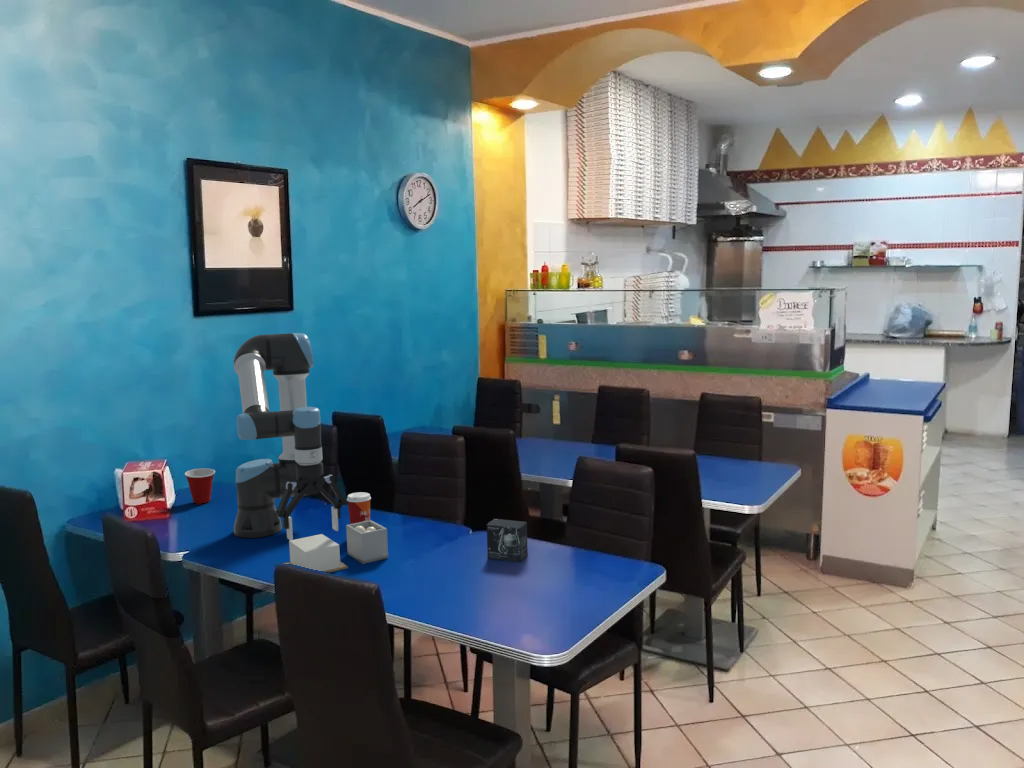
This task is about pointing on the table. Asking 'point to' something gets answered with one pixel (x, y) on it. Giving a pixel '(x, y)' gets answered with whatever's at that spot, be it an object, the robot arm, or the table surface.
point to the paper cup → (359, 507)
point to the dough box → (367, 541)
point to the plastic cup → (200, 484)
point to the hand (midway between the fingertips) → (313, 534)
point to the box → (507, 540)
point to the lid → (315, 553)
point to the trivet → (342, 566)
